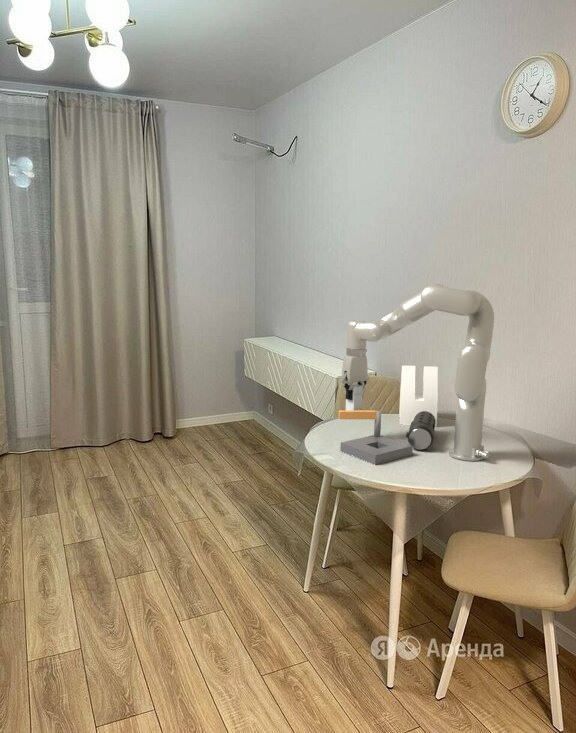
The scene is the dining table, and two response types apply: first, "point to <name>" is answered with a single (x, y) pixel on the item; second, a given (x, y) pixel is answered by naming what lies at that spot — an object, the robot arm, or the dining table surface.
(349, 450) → the socket block
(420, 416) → the muzzle brake
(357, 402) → the plug
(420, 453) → the dining table surface
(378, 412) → the try square
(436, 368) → the white u-shaped block
